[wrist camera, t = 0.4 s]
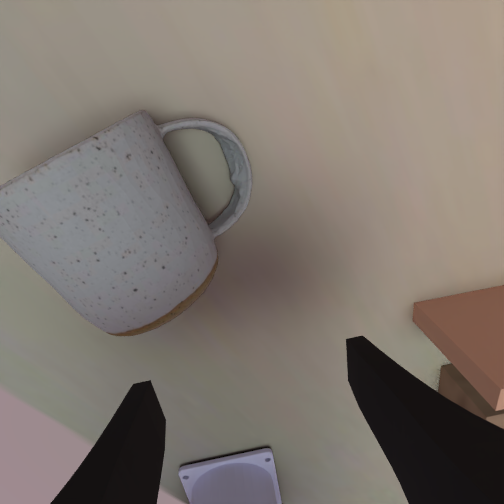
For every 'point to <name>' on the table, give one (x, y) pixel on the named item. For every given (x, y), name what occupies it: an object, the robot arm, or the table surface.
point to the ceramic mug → (121, 223)
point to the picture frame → (469, 337)
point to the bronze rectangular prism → (467, 395)
